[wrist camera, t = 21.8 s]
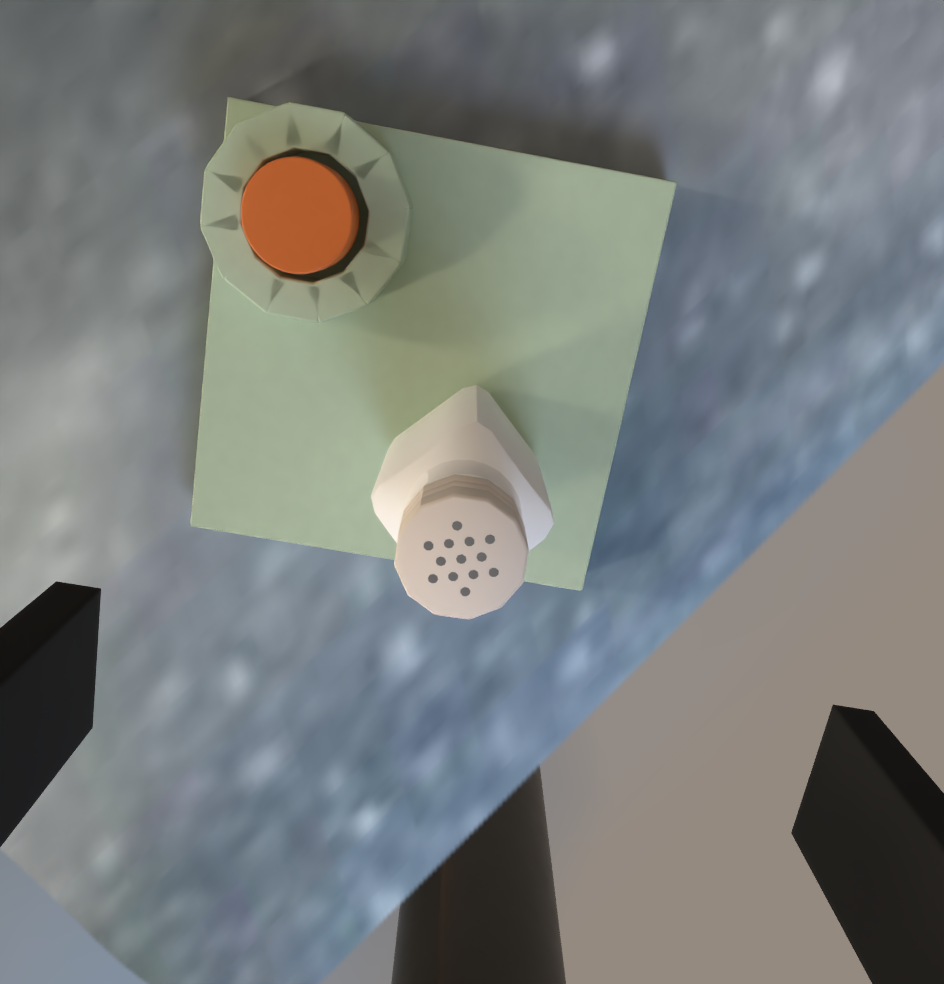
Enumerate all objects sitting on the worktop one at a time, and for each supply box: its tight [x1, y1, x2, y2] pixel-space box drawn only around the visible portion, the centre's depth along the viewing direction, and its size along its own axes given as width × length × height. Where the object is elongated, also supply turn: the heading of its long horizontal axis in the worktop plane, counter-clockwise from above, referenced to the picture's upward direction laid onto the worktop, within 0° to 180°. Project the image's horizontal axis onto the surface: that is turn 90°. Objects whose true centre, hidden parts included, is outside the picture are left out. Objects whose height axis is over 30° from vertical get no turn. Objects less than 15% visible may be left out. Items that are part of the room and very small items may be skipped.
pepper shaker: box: [371, 385, 554, 619], centre depth 25 cm, size 4×4×10 cm
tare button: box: [241, 156, 359, 274], centre depth 26 cm, size 3×3×2 cm
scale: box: [190, 97, 677, 591], centre depth 29 cm, size 14×14×3 cm
